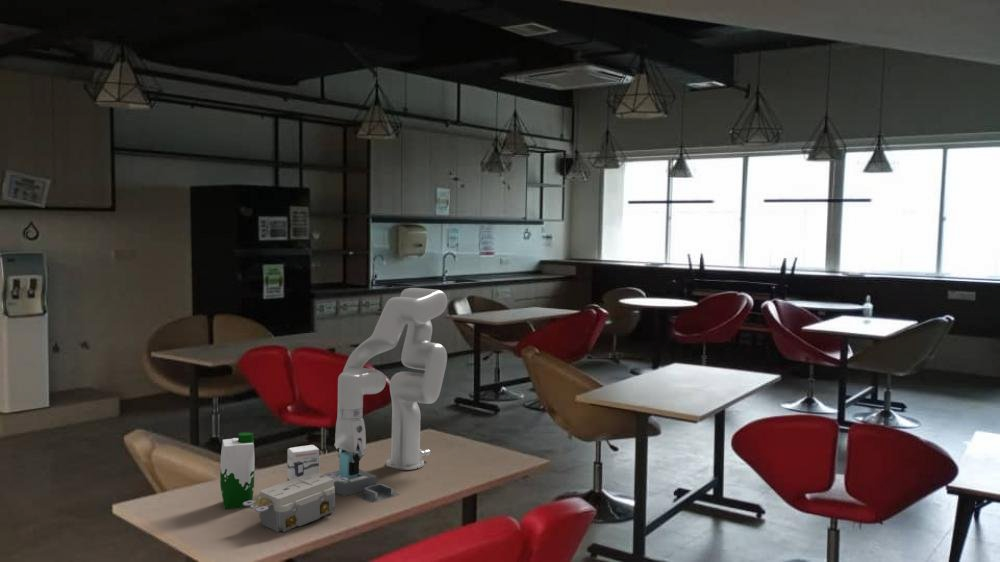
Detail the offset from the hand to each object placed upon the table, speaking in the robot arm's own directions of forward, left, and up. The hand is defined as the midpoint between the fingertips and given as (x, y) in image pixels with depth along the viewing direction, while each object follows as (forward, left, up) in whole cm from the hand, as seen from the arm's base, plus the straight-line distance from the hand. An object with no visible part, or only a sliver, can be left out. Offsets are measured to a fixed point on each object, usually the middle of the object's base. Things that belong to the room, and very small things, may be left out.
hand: (349, 471), depth 231 cm
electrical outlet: (+25, +12, -5) cm, 28 cm away
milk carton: (+31, -10, -5) cm, 33 cm away
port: (0, 0, -5) cm, 5 cm away
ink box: (+9, -11, -5) cm, 15 cm away
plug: (0, 0, -4) cm, 4 cm away
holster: (-2, +12, -5) cm, 13 cm away
